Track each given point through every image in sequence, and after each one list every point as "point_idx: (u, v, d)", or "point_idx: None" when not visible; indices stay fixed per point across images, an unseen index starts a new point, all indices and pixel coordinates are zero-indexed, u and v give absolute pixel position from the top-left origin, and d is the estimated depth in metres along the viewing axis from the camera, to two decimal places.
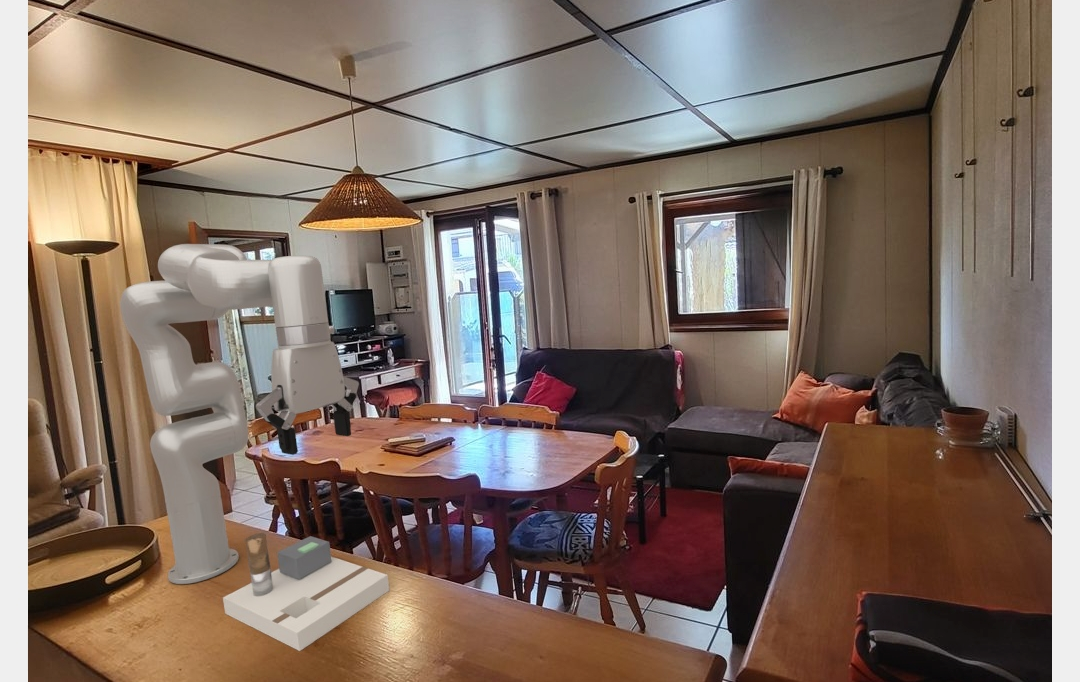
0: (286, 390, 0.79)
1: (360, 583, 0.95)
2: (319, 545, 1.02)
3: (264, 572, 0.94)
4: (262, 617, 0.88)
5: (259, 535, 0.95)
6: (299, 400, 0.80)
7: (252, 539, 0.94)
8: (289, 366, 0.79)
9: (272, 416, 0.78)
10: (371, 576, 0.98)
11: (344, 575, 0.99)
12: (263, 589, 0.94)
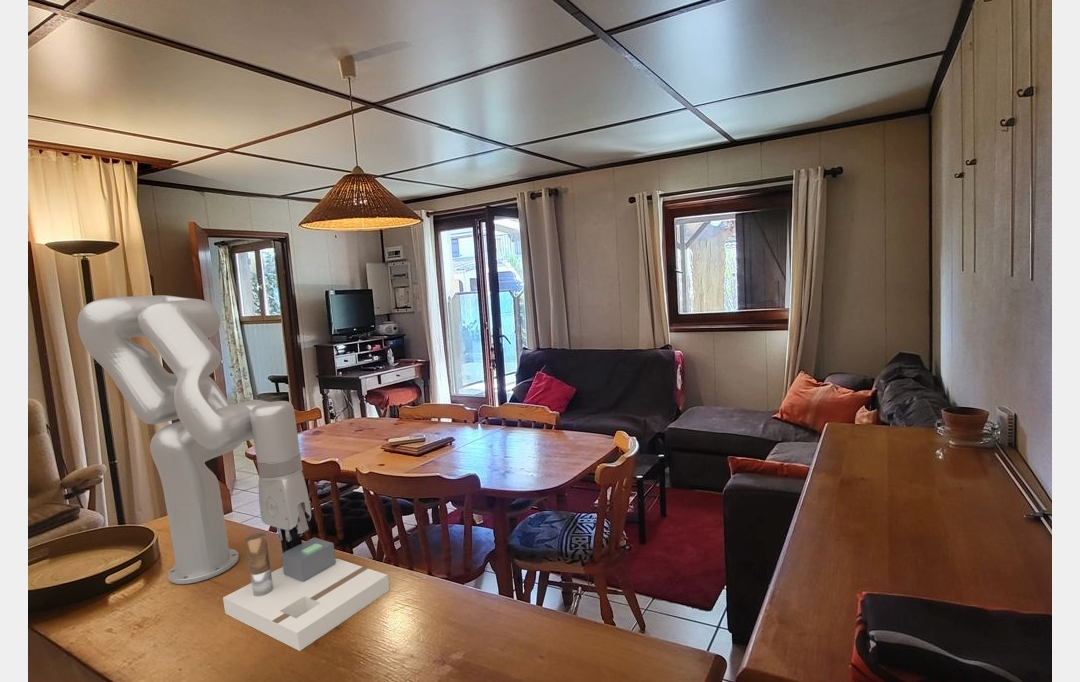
0: (308, 503, 1.02)
1: (360, 583, 0.95)
2: (323, 546, 1.02)
3: (264, 572, 0.94)
4: (262, 617, 0.88)
5: (259, 535, 0.95)
6: None
7: (252, 539, 0.94)
8: (305, 485, 1.03)
9: None
10: (371, 576, 0.98)
11: (344, 575, 0.99)
12: (263, 589, 0.94)
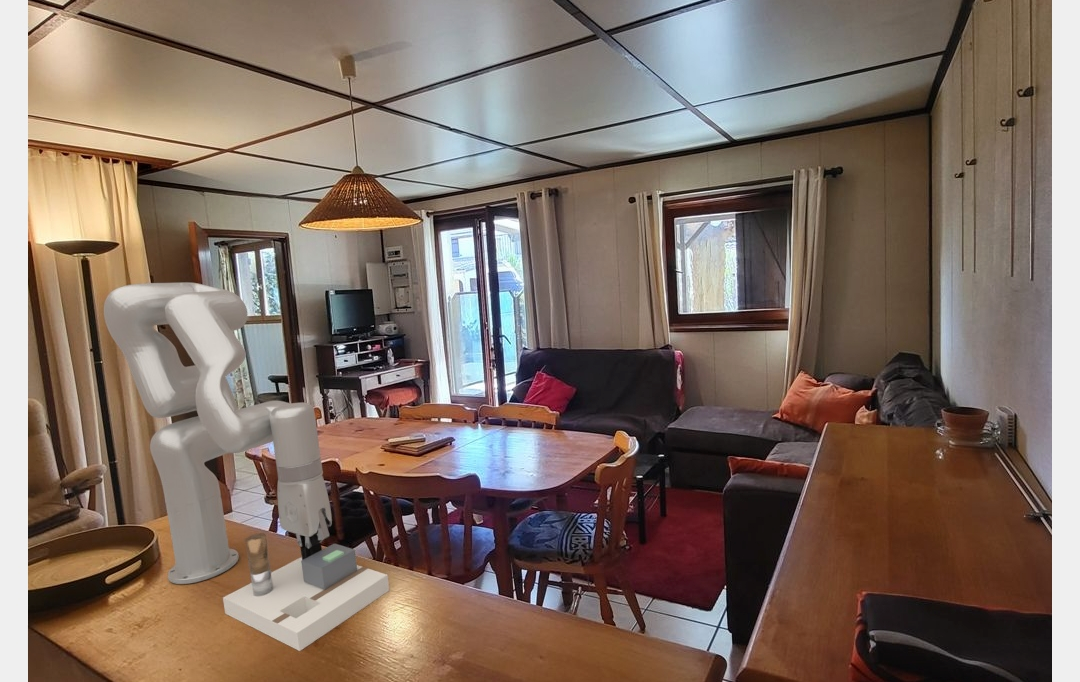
0: (328, 509, 0.99)
1: (360, 583, 0.95)
2: (344, 553, 0.98)
3: (264, 572, 0.94)
4: (262, 617, 0.88)
5: (259, 535, 0.95)
6: None
7: (252, 539, 0.94)
8: (326, 489, 0.99)
9: None
10: (371, 576, 0.98)
11: None
12: (263, 589, 0.94)
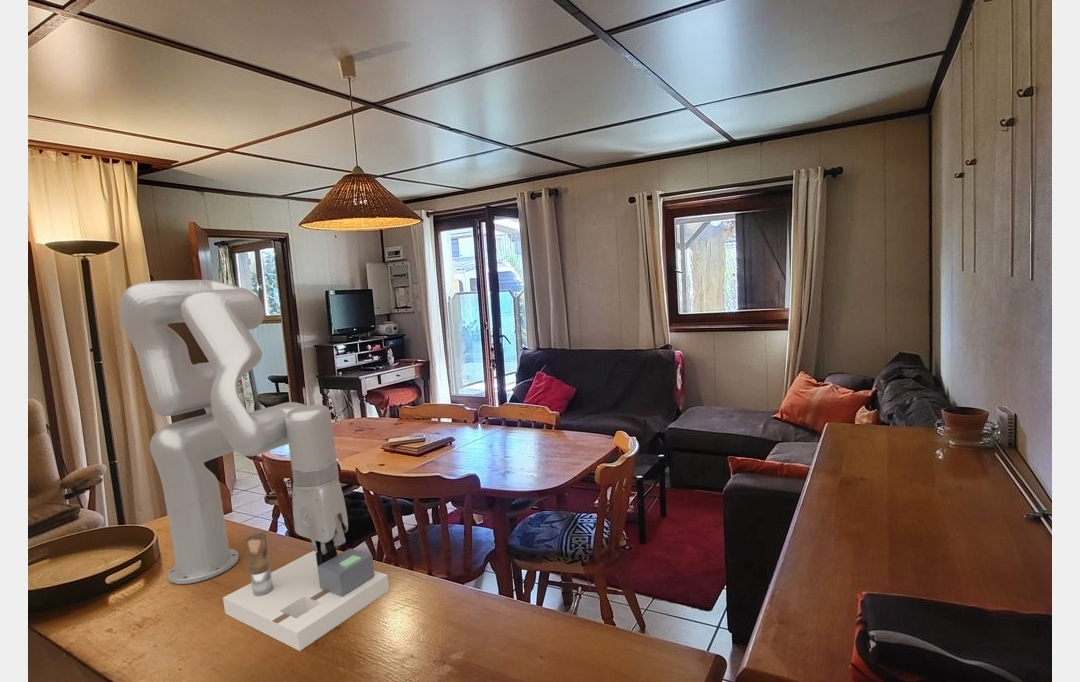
0: (345, 514, 0.96)
1: None
2: (361, 558, 0.96)
3: (264, 572, 0.94)
4: (262, 617, 0.88)
5: (259, 535, 0.95)
6: None
7: (252, 539, 0.94)
8: (342, 494, 0.97)
9: None
10: None
11: None
12: (263, 589, 0.94)
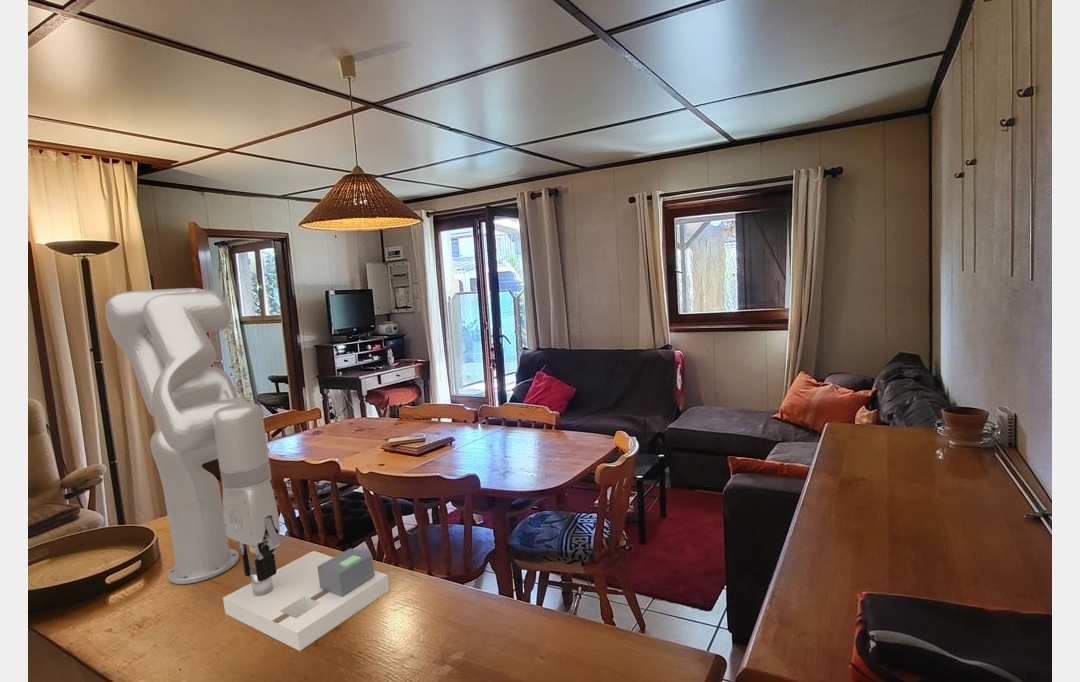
0: (276, 517, 0.93)
1: None
2: (361, 558, 0.96)
3: None
4: (262, 617, 0.88)
5: None
6: None
7: None
8: None
9: None
10: None
11: None
12: (263, 589, 0.94)
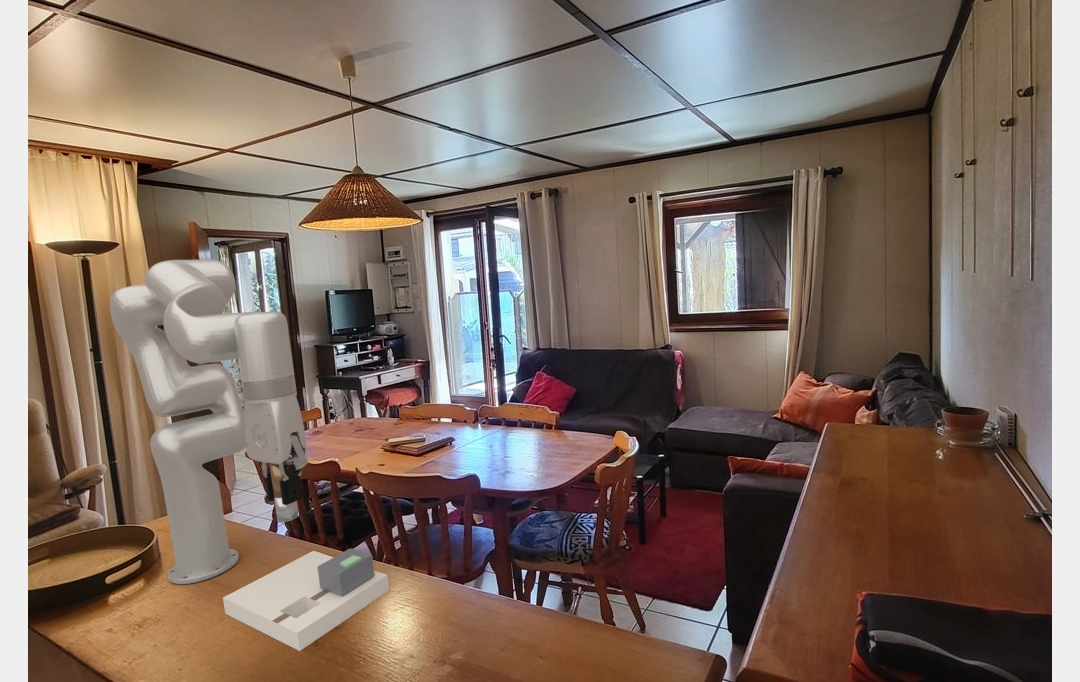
0: (302, 434, 0.85)
1: None
2: (361, 558, 0.96)
3: None
4: (262, 617, 0.88)
5: None
6: None
7: None
8: (300, 412, 0.85)
9: None
10: None
11: None
12: (288, 514, 0.87)
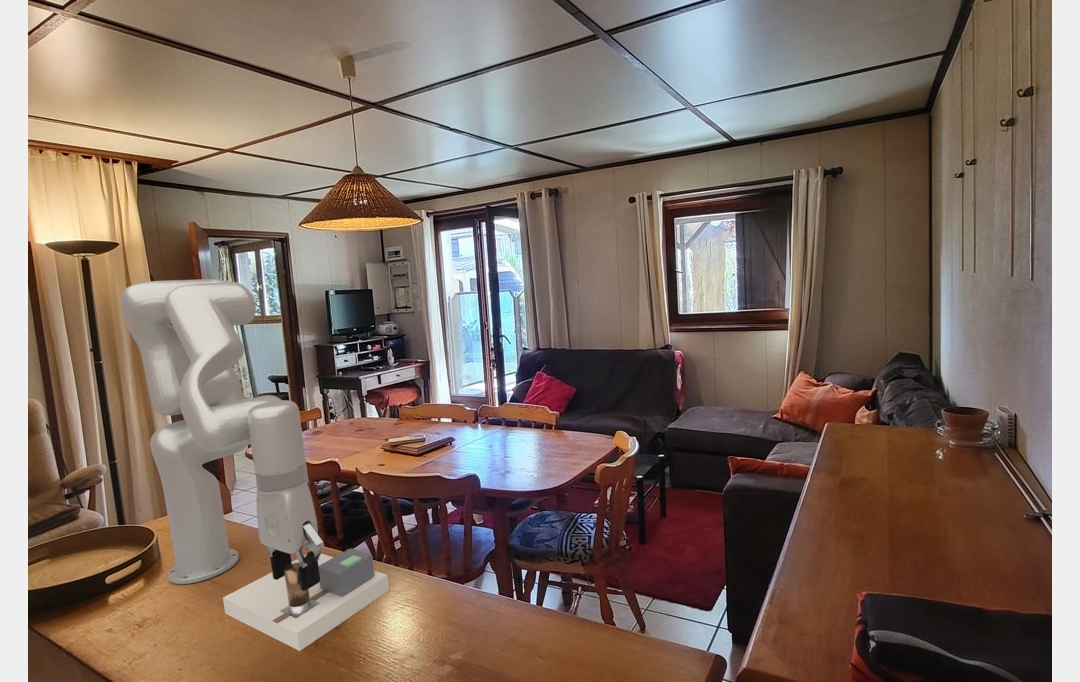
0: (314, 522, 0.87)
1: None
2: (361, 558, 0.96)
3: (303, 604, 0.89)
4: (262, 617, 0.88)
5: (298, 564, 0.90)
6: None
7: (291, 569, 0.88)
8: (311, 500, 0.87)
9: None
10: None
11: None
12: None
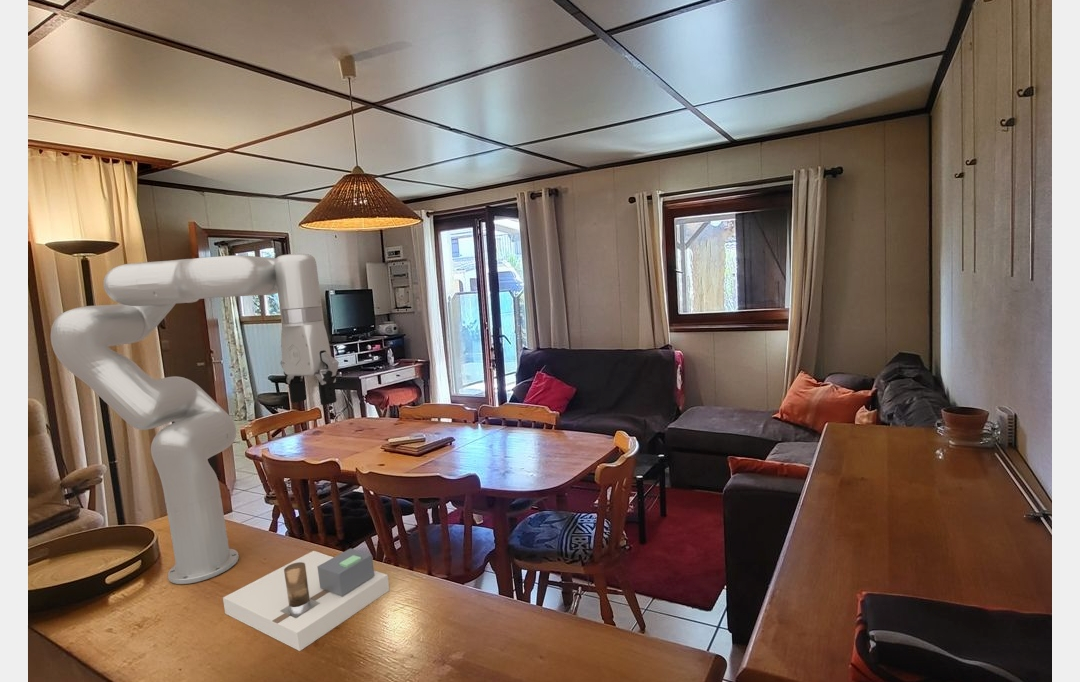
0: (329, 353, 1.05)
1: None
2: (361, 558, 0.96)
3: (303, 604, 0.89)
4: (262, 617, 0.88)
5: (298, 564, 0.90)
6: None
7: (291, 569, 0.88)
8: (326, 335, 1.06)
9: None
10: None
11: None
12: None
